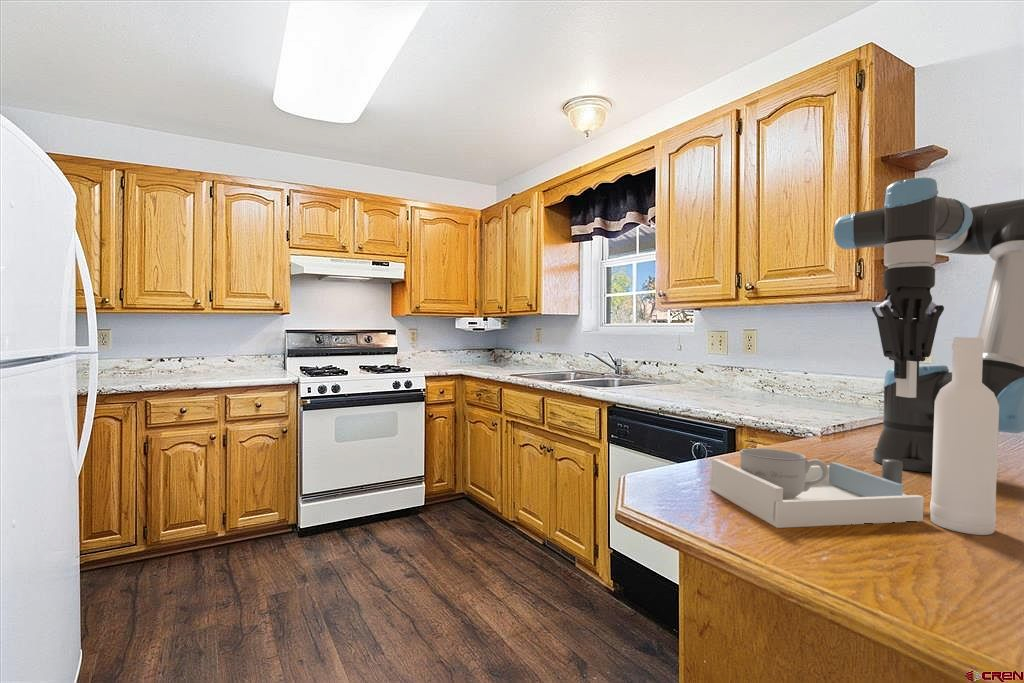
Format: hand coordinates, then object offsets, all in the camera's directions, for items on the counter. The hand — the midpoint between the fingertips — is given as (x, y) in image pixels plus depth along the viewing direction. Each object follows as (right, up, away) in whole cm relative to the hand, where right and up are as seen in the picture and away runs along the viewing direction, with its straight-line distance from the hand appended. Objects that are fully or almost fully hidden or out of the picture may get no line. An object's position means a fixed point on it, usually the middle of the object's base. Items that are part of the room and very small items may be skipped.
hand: (905, 396), depth 97 cm
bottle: (-1, -20, -13) cm, 23 cm away
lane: (-16, -19, -2) cm, 25 cm away
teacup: (-24, -18, -3) cm, 30 cm away
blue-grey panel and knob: (-5, -18, -1) cm, 18 cm away
